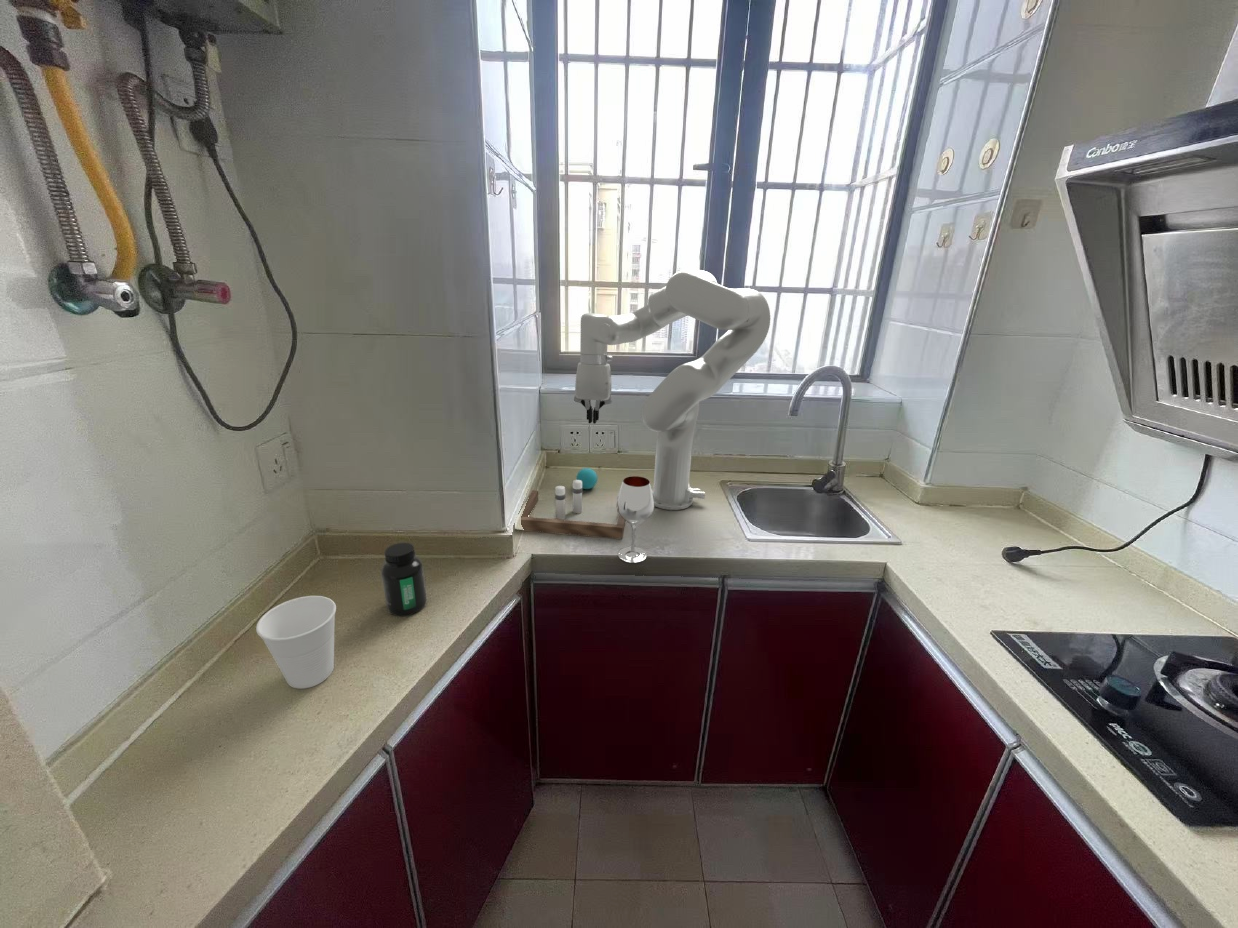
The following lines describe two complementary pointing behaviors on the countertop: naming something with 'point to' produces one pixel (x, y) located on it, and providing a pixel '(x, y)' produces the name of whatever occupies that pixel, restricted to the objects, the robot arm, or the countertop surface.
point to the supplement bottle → (403, 580)
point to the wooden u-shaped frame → (568, 524)
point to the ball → (587, 478)
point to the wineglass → (634, 511)
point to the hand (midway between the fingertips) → (592, 422)
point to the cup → (301, 639)
